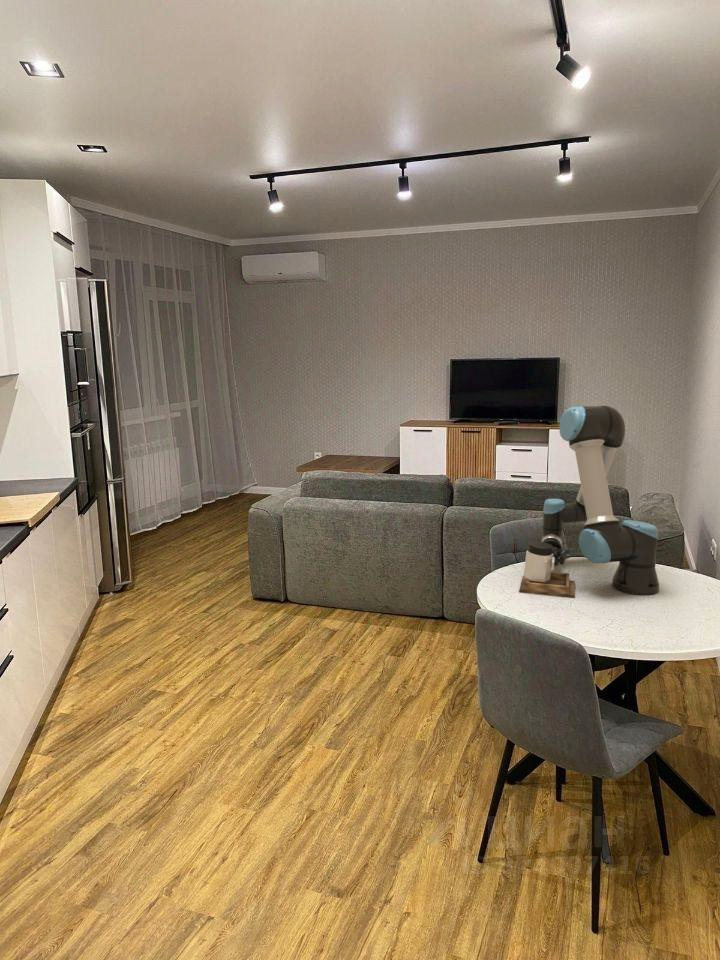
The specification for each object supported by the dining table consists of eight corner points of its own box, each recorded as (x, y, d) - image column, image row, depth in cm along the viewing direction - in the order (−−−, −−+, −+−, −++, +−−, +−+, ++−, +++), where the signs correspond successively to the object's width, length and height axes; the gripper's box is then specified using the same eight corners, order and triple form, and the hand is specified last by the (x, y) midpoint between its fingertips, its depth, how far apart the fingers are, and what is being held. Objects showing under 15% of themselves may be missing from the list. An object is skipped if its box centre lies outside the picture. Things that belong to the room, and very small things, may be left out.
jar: (542, 584, 240) (546, 550, 237) (520, 577, 245) (524, 544, 242) (553, 578, 247) (557, 545, 244) (531, 572, 252) (535, 539, 249)
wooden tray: (574, 583, 251) (575, 574, 250) (574, 597, 237) (575, 587, 236) (522, 578, 256) (522, 569, 255) (519, 592, 242) (519, 582, 241)
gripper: (571, 558, 260) (571, 578, 238) (530, 555, 264) (526, 574, 242) (572, 538, 258) (572, 557, 236) (531, 535, 263) (527, 553, 240)
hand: (549, 565), depth 239 cm, fingers closed on jar, 2 cm apart
